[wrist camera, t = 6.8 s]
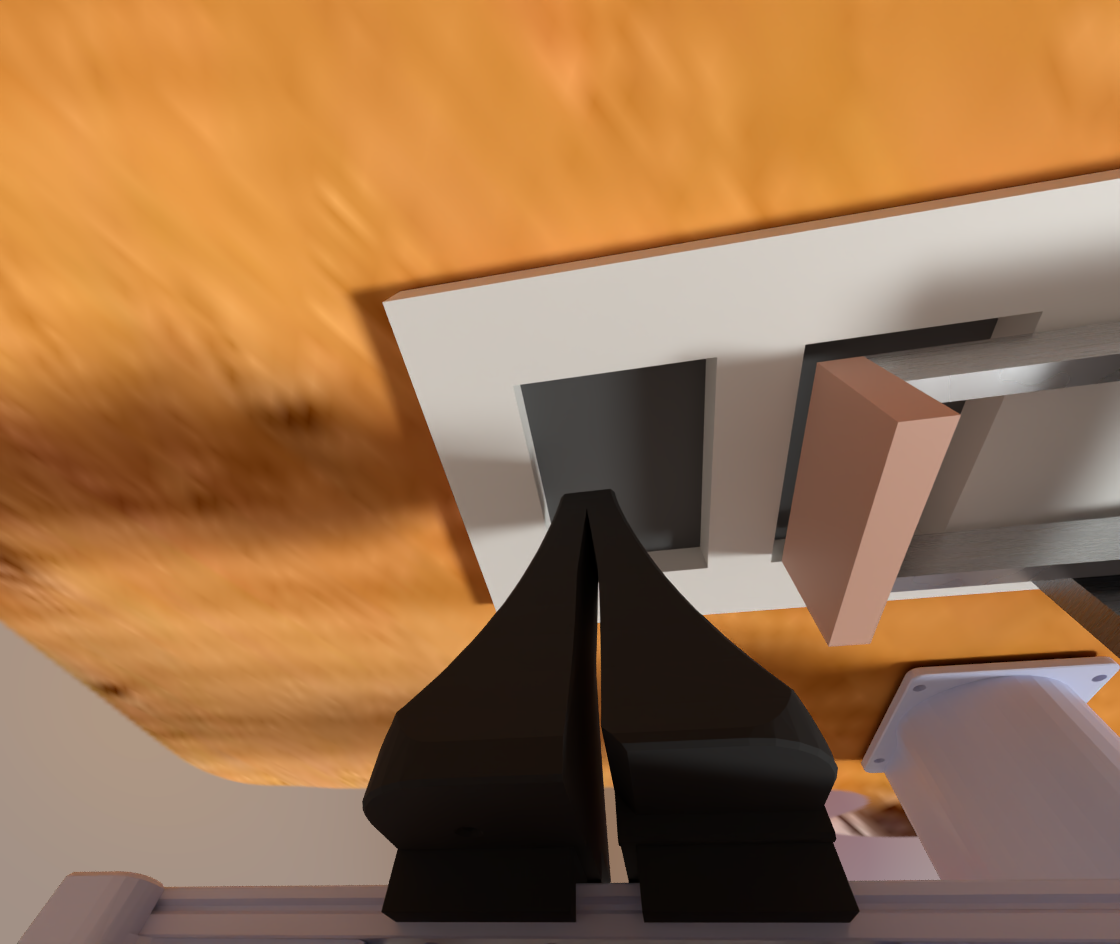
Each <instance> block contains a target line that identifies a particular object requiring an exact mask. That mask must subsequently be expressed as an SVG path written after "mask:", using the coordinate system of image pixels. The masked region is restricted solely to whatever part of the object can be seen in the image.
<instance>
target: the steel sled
mask: <svg viewBox="0 0 1120 944" xmlns="http://www.w3.org/2000/svg"><path fill="white" fill-rule="evenodd" d="M1116 381H1120V321H1118V322H1111V323H1103V324H1096V325H1089V326H1081V327H1074V328H1067V329H1059V330H1052V331H1044V332H1037V333H1030V334H1022V335H1015V336H1008V337H1000V338H993V339H986V340H978V341H971V342H964V343H956V344H949V345H942V346H934V347H927V348H919V349H912V350H905V351H897V352H890V353H883V354H875V355H868V356H861V357H853V358H846V359H839V360H831V361H824V362H817V366H816V371H815V377H814V382H813V388H812V394H811V399H810V405H809V410H808V416H807V422H806V427H805V433H804V438H803V444H802V450H801V455H800V461H799V466H798V472H797V478H796V483H795V489H794V494H793V500H792V506H791V511H790V517H789V522H788V528H787V534H786V539H785V545H784V550H783V556H782V563H783V565H784V566H785V568H786V570H787V572H788V574H789V575H790V577H791V579H792V581H793V583H794V585H795V586H796V588H797V590H798V592H799V594H800V595H801V597H802V599H803V601H804V603H805V605H806V606H807V608H808V610H809V612H810V614H811V615H812V617H813V619H814V621H815V623H816V625H817V626H818V628H819V630H820V632H821V634H822V635H823V637H824V639H825V641H826V643H827V645H828V646H844V645H858V644H870V643H871V640H872V638H873V635H874V633H875V630H876V628H877V625H878V623H879V620H880V618H881V615H882V613H883V610H884V607H885V605H886V602H887V600H888V597H889V595H890V593H891V592H904V591H916V590H929V589H942V588H954V587H967V586H980V585H992V584H1005V583H1018V582H1030V581H1043V580H1056V579H1068V578H1081V577H1094V576H1106V575H1119V574H1120V516H1119V517H1108V518H1097V519H1086V520H1075V521H1064V522H1053V523H1042V524H1032V525H1021V526H1010V527H999V528H988V529H977V530H966V531H956V532H945V533H934V534H923V535H914V532H915V529H916V527H917V524H918V522H919V519H920V517H921V514H922V512H923V509H924V507H925V504H926V502H927V499H928V497H929V494H930V492H931V489H932V487H933V484H934V482H935V479H936V477H937V474H938V472H939V469H940V467H941V464H942V462H943V459H944V456H945V454H946V451H947V449H948V446H949V444H950V441H951V439H952V436H953V434H954V431H955V429H956V426H957V424H958V421H959V419H960V416H961V414H959V413H957V412H956V411H954V410H952V409H951V408H949V407H947V406H946V405H944V404H942V403H944V402H952V401H960V400H969V399H977V398H985V397H993V396H1001V395H1009V394H1018V393H1026V392H1034V391H1042V390H1050V389H1058V388H1067V387H1075V386H1083V385H1091V384H1099V383H1107V382H1116Z"/></svg>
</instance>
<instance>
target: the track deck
mask: <svg viewBox="0 0 1120 944" xmlns="http://www.w3.org/2000/svg"><path fill="white" fill-rule="evenodd" d="M382 303H383V305H384V308H385V311H386V314H387V316H388V319H389V322H390V324H391V327H392V330H393V333H394V335H395V338H396V341H397V343H398V346H399V349H400V351H401V354H402V357H403V360H404V362H405V365H406V368H407V370H408V373H409V376H410V379H411V381H412V384H413V387H414V389H415V392H416V395H417V398H418V400H419V403H420V406H421V408H422V411H423V414H424V417H425V419H426V422H427V425H428V427H429V430H430V433H431V435H432V438H433V441H434V444H435V446H436V449H437V452H438V454H439V457H440V460H441V463H442V465H443V468H444V471H445V473H446V476H447V479H448V482H449V484H450V487H451V490H452V492H453V495H454V498H455V501H456V503H457V506H458V509H459V511H460V514H461V517H462V519H463V522H464V525H465V528H466V530H467V533H468V536H469V538H470V541H471V544H472V547H473V549H474V552H475V555H476V557H477V560H478V563H479V566H480V568H481V571H482V574H483V576H484V579H485V582H486V585H487V587H488V590H489V593H490V595H491V598H492V601H493V603H494V606H495V609H496V612H497V611H498V610H499V608H500V607H501V606H502V605H503V603H504V602H505V601H506V599H507V598H508V596H509V595H510V594H511V592H512V591H513V589H514V588H515V587H516V585H517V584H518V582H519V581H520V579H521V577H522V576H523V574H524V573H525V571H526V569H527V568H528V566H529V564H530V563H531V561H532V559H533V558H534V556H535V554H536V552H537V551H538V549H539V547H540V545H541V543H542V541H543V539H544V537H545V535H546V533H547V531H548V529H549V527H550V525H551V522H552V520H553V518H554V516H555V513H556V511H557V508H558V505H559V503H560V499H561V497H562V496H563V495H564V494H567V493H576V492H585V491H595V490H604V489H611V490H613V491H614V492H615V495H616V498H617V501H618V503H619V506H620V508H621V510H622V512H623V514H624V516H625V518H626V520H627V522H628V523H629V525H630V527H631V528H632V530H633V531H634V533H635V535H636V536H637V538H638V539H639V541H640V543H641V544H642V545H643V547H644V548H645V550H646V551H647V553H648V554H649V555H650V557H651V558H652V559H653V561H654V562H655V563H656V565H657V566H658V567H659V569H660V570H661V571H662V572H663V573H664V575H665V576H666V577H667V578H668V580H669V581H670V582H671V583H672V584H673V585H674V586H675V587H676V589H677V590H678V591H679V592H680V593H681V594H682V595H683V596H684V597H685V598H686V599H687V600H688V601H689V603H690V604H691V605H692V606H693V607H694V608H695V609H696V610H697V611H698V612H699V613H701V614H702V615H707V614H720V613H733V612H746V611H759V610H772V609H784V608H797V607H807V606H806V605H805V603H804V601H803V599H802V597H801V595H800V594H799V592H798V590H797V588H796V586H795V585H794V583H793V581H792V579H791V577H790V575H789V574H788V572H787V570H786V568H785V566H784V565H783V563H782V556H783V550H784V545H785V539H786V534H787V528H788V522H789V517H790V511H791V506H792V500H793V494H794V489H795V483H796V478H797V472H798V466H799V461H800V455H801V450H802V444H803V438H804V433H805V427H806V422H807V416H808V410H809V405H810V399H811V394H812V388H813V382H814V377H815V371H816V366H817V362H824V361H831V360H839V359H846V358H853V357H861V356H868V355H875V354H883V353H890V352H897V351H905V350H912V349H919V348H927V347H934V346H942V345H949V344H956V343H964V342H971V341H978V340H986V339H993V338H1000V337H1008V336H1015V335H1022V334H1030V333H1037V332H1044V331H1052V330H1059V329H1067V328H1074V327H1081V326H1089V325H1096V324H1103V323H1111V322H1118V321H1120V169H1116V170H1110V171H1104V172H1098V173H1092V174H1086V175H1080V176H1075V177H1069V178H1063V179H1057V180H1051V181H1045V182H1039V183H1033V184H1028V185H1022V186H1016V187H1010V188H1004V189H998V190H992V191H986V192H981V193H975V194H969V195H963V196H957V197H951V198H945V199H939V200H934V201H928V202H922V203H916V204H910V205H904V206H898V207H892V208H887V209H881V210H875V211H869V212H863V213H857V214H851V215H845V216H840V217H834V218H828V219H822V220H816V221H810V222H804V223H798V224H793V225H787V226H781V227H775V228H769V229H763V230H757V231H751V232H746V233H740V234H734V235H728V236H722V237H716V238H710V239H704V240H699V241H693V242H687V243H681V244H675V245H669V246H663V247H657V248H652V249H646V250H640V251H634V252H628V253H622V254H616V255H610V256H605V257H599V258H593V259H587V260H581V261H575V262H569V263H563V264H558V265H552V266H546V267H540V268H534V269H528V270H522V271H516V272H511V273H505V274H499V275H493V276H487V277H481V278H475V279H469V280H464V281H458V282H452V283H446V284H440V285H434V286H428V287H422V288H417V289H411V290H405V291H400V292H398V293H397V294H395V295H393V296H392V297H390V298H389V299H387V300H385V301H384V302H382ZM942 404H944V405H946V406H947V407H949V408H951V409H952V410H954V411H956V412H957V413H959V414H961V416H960V419H959V421H958V424H957V426H956V429H955V431H954V434H953V436H952V439H951V441H950V444H949V446H948V449H947V451H946V454H945V456H944V459H943V462H942V464H941V467H940V469H939V472H938V474H937V477H936V479H935V482H934V484H933V487H932V489H931V492H930V494H929V497H928V499H927V502H926V504H925V507H924V509H923V512H922V514H921V517H920V519H919V522H918V524H917V527H916V529H915V532H914V535H923V534H934V533H945V532H956V531H966V530H977V529H988V528H999V527H1010V526H1021V525H1032V524H1042V523H1053V522H1064V521H1075V520H1086V519H1097V518H1108V517H1119V516H1120V381H1116V382H1107V383H1099V384H1091V385H1083V386H1075V387H1067V388H1058V389H1050V390H1042V391H1034V392H1026V393H1018V394H1009V395H1001V396H993V397H985V398H977V399H969V400H960V401H952V402H944V403H942ZM1031 589H1039V588H1038V587H1037V586H1036V585H1035V584H1033V583H1032V582H1031V581H1030V582H1018V583H1005V584H992V585H980V586H967V587H954V588H942V589H929V590H916V591H904V592H891V593H890V595H889V597H888V600H901V599H914V598H927V597H940V596H953V595H966V594H979V593H992V592H1005V591H1018V590H1031ZM888 600H887V601H888ZM597 623H600V600H599V582H598V618H597Z"/></svg>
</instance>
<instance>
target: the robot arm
mask: <svg viewBox="0 0 1120 944" xmlns="http://www.w3.org/2000/svg"><path fill="white" fill-rule="evenodd" d="M598 582H599V600H600V633H601V728H602V733H603V737H604V742H605V747H606V752H607V757H608V761H609V766H610V771H611V776H612V781H613V785H614V790H615V801H616V815H617V832H618V843H619V846H621V849H622V853H623V858H624V862H625V867H626V871H627V875H628V880H629V883H610V882H611V878H610V865H609V853H608V839H607V826H606V813H605V799H604V785H603V771H602V756H601V741H600V726H599V710H598V694H597V678H596V651H597V618H598ZM1119 668H1120V667H1119V665H1118V664H1117V663H1116V662H1115V661H1114V660H1113V659H1112V658H1110V657H1106V656H1098V657H1082V658H1065V659H1049V660H1032V661H1016V662H1000V663H983V664H967V665H950V666H934V667H919V668H914V669H911V670H910V671H908V672H907V673H906V675H905V677H904V679H903V681H902V683H901V685H900V687H899V689H898V691H897V692H896V694H895V696H894V698H893V700H892V702H891V704H890V706H889V708H888V710H887V712H886V714H885V716H884V718H883V720H882V722H881V724H880V726H879V728H878V730H877V732H876V734H875V736H874V738H873V740H872V742H871V744H870V746H869V748H868V750H867V752H866V754H865V756H864V758H863V760H862V762H861V764H862V766H863V768H864V770H865V771H866V772H869V773H881V772H884V773H885V775H886V777H887V779H888V781H889V782H890V784H891V786H892V788H893V790H894V792H895V794H896V796H897V798H898V800H899V801H900V803H901V805H902V807H903V809H904V811H905V813H906V815H907V817H908V819H909V820H910V822H911V824H912V826H913V828H914V830H915V832H916V834H917V836H918V838H919V839H920V841H921V843H922V845H923V847H924V849H925V851H926V853H927V855H928V857H929V858H930V860H931V862H932V864H933V866H934V868H935V870H936V871H937V874H938V875H939V877H940V879H941V880H903V881H848V880H847V877H846V875H845V872H844V870H843V867H842V865H841V862H840V860H839V857H838V854H837V852H836V849H835V847H834V844H833V842H835V840H836V835H835V831H834V828H833V826H832V823H831V821H830V818H829V816H828V813H827V811H826V808H825V806H824V804H825V802H826V800H827V798H828V795H829V793H830V791H831V789H832V787H833V785H834V782H835V780H836V778H837V770H838V767H837V765H836V763H835V761H834V758H833V755H832V753H831V751H830V749H829V746H828V744H827V743H826V741H825V739H824V737H823V736H822V734H821V732H820V730H819V729H818V727H817V725H816V724H815V722H814V720H813V719H812V717H811V715H810V714H809V712H808V711H807V709H806V708H805V706H804V705H803V703H802V702H801V700H800V699H799V697H798V696H797V695H796V693H795V692H794V690H792V689H791V688H790V687H788V686H787V685H786V684H784V683H783V682H782V681H780V680H779V679H778V678H776V677H775V676H773V675H772V674H771V673H769V672H768V671H767V670H766V669H764V668H763V667H762V666H760V665H759V664H758V663H757V662H755V661H754V660H753V659H751V658H750V657H749V656H748V655H747V654H745V653H744V652H743V651H742V650H741V649H739V648H738V647H737V646H736V645H735V644H733V643H732V642H731V641H730V640H729V639H727V638H726V637H725V636H724V635H723V634H722V633H721V632H720V631H719V630H718V629H717V628H716V627H714V626H713V625H712V624H711V623H710V622H709V621H708V620H707V619H706V618H705V617H704V616H703V615H702V614H701V613H699V612H698V611H697V610H696V609H695V608H694V607H693V606H692V605H691V604H690V603H689V601H688V600H687V599H686V598H685V597H684V596H683V595H682V594H681V593H680V592H679V591H678V590H677V589H676V587H675V586H674V585H673V584H672V583H671V582H670V581H669V580H668V578H667V577H666V576H665V575H664V573H663V572H662V571H661V570H660V569H659V567H658V566H657V565H656V563H655V562H654V561H653V559H652V558H651V557H650V555H649V554H648V553H647V551H646V550H645V548H644V547H643V545H642V544H641V543H640V541H639V539H638V538H637V536H636V535H635V533H634V531H633V530H632V528H631V527H630V525H629V523H628V522H627V520H626V518H625V516H624V514H623V512H622V510H621V508H620V506H619V503H618V501H617V498H616V495H615V492H614V491H613V490H611V489H604V490H595V491H585V492H576V493H567V494H564V495H563V496H562V497H561V499H560V503H559V505H558V508H557V511H556V513H555V516H554V518H553V520H552V522H551V525H550V527H549V529H548V531H547V533H546V535H545V537H544V539H543V541H542V543H541V545H540V547H539V549H538V551H537V552H536V554H535V556H534V558H533V559H532V561H531V563H530V564H529V566H528V568H527V569H526V571H525V573H524V574H523V576H522V577H521V579H520V581H519V582H518V584H517V585H516V587H515V588H514V589H513V591H512V592H511V594H510V595H509V596H508V598H507V599H506V601H505V602H504V603H503V605H502V606H501V607H500V608H499V610H498V611H497V612H496V613H495V615H494V616H493V617H492V618H491V620H490V621H489V622H488V623H487V625H486V626H485V627H484V628H483V629H482V631H481V632H480V633H479V634H478V635H477V636H476V637H475V639H474V640H473V641H472V642H471V643H470V644H469V645H468V646H467V647H466V648H465V649H464V650H463V651H462V652H461V653H460V654H459V655H458V656H457V657H456V658H455V659H454V661H453V662H452V663H451V664H450V665H449V666H448V667H447V668H446V669H445V670H444V671H443V672H442V673H441V674H440V675H439V676H438V677H436V678H435V679H434V680H433V681H432V682H431V683H430V684H429V685H427V686H426V687H425V688H424V689H423V690H422V691H421V692H420V693H419V694H417V695H416V696H415V697H414V698H413V699H412V700H411V701H410V702H408V703H407V704H406V705H405V706H404V707H403V708H401V709H400V710H399V711H398V712H397V713H396V715H395V717H394V720H393V722H392V724H391V727H390V729H389V731H388V733H387V735H386V737H385V739H384V742H383V744H382V747H381V749H380V752H379V755H378V757H377V760H376V763H375V766H374V769H373V772H372V775H371V778H370V781H369V784H368V787H367V789H366V792H365V795H364V798H363V801H362V802H363V811H364V813H365V816H366V817H367V819H368V820H369V821H370V823H371V824H372V825H373V826H374V827H375V828H376V829H377V830H378V831H379V832H380V833H382V834H383V835H384V836H385V837H386V838H387V839H388V840H389V841H390V842H391V843H392V844H393V845H395V847H396V848H398V850H397V854H396V858H395V862H394V865H393V869H392V873H391V877H390V880H389V884H388V885H341V886H340V885H338V886H337V885H336V886H230V887H229V886H227V887H226V886H223V887H222V886H221V887H164V886H163V884H162V883H161V882H159V881H157V880H155V879H153V878H151V877H148V876H145V875H142V874H138V873H132V872H121V871H120V872H119V871H116V872H74V873H72V874H70V875H68V876H66V877H65V879H64V880H63V881H62V883H61V884H60V885H59V887H58V888H57V890H56V891H55V892H54V894H53V895H52V896H51V898H50V899H49V900H48V902H47V903H46V905H45V906H44V907H43V909H42V910H41V911H40V913H39V914H38V915H37V917H36V918H35V919H34V921H33V922H32V924H31V925H30V926H29V928H28V929H27V930H26V932H25V933H24V935H23V936H22V937H21V939H20V940H19V941H18V943H17V944H1120V737H1119V736H1118V735H1117V734H1116V733H1115V732H1114V731H1113V730H1112V729H1111V728H1110V727H1109V726H1108V725H1107V724H1106V723H1105V722H1104V721H1103V720H1102V719H1101V718H1100V717H1099V716H1098V715H1097V714H1096V713H1095V712H1094V711H1093V710H1092V709H1091V708H1090V707H1089V706H1088V705H1087V704H1086V703H1087V702H1088V701H1089V700H1090V699H1091V698H1092V697H1093V696H1094V695H1095V694H1096V693H1097V692H1098V691H1099V690H1100V689H1101V688H1102V687H1103V686H1104V685H1105V684H1106V683H1107V682H1108V681H1109V680H1110V679H1111V677H1112V676H1113V675H1114V674H1115V673H1116V672H1117V671H1118V670H1119Z"/></svg>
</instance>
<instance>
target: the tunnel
mask: <svg viewBox="0 0 1120 944" xmlns="http://www.w3.org/2000/svg"><path fill="white" fill-rule="evenodd" d="M1031 582H1032V583H1033V584H1035V585H1036V586H1037V587H1038V588H1039V589H1040V590H1041V591H1043V592H1044V593H1045V594H1046V595H1047V596H1048V597H1050V598H1051V599H1052V600H1053V601H1054V602H1055V603H1056V604H1058V605H1059V606H1060V607H1061V608H1062V609H1063V610H1064V611H1066V612H1067V613H1068V614H1069V615H1070V616H1071V617H1072V618H1074V619H1075V620H1076V621H1077V622H1078V623H1079V624H1081V625H1082V626H1083V627H1084V628H1085V629H1086V630H1087V631H1089V632H1090V633H1091V634H1092V635H1093V636H1094V637H1095V638H1097V639H1098V640H1099V641H1100V642H1101V643H1102V644H1104V645H1105V646H1106V647H1107V648H1108V649H1109V650H1110V651H1112V652H1113V653H1114V654H1115V655H1116V656H1117V657H1118V658H1120V574H1119V575H1106V576H1094V577H1081V578H1068V579H1056V580H1043V581H1031Z"/></svg>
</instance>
